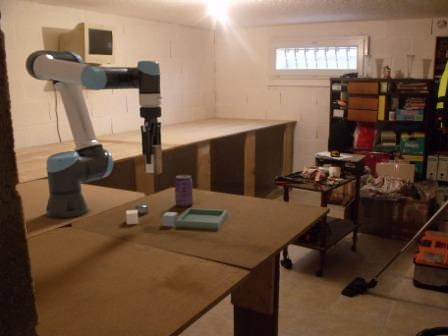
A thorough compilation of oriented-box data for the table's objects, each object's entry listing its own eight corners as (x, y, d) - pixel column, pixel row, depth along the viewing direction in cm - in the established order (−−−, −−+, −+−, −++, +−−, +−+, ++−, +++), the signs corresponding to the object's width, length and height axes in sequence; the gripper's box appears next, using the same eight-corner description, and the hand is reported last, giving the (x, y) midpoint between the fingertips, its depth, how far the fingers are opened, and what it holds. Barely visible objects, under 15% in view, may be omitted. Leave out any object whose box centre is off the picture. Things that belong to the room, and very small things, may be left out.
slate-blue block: (163, 226, 152) (162, 215, 152) (167, 222, 156) (166, 211, 155) (174, 226, 152) (173, 215, 151) (177, 223, 155) (177, 212, 155)
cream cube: (126, 224, 155) (126, 213, 154) (126, 221, 159) (126, 210, 158) (138, 223, 156) (137, 213, 155) (138, 220, 159) (137, 209, 159)
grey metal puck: (133, 214, 166) (132, 207, 165) (138, 210, 171) (138, 203, 170) (145, 215, 165) (145, 207, 164) (150, 211, 170) (150, 204, 169)
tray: (176, 227, 151) (176, 220, 150) (189, 214, 165) (188, 208, 165) (218, 229, 148) (218, 223, 147) (227, 216, 162) (227, 210, 161)
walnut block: (144, 174, 155) (142, 146, 153) (149, 171, 160) (148, 144, 158) (157, 174, 154) (156, 147, 152) (162, 171, 159) (161, 144, 157)
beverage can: (184, 201, 182) (183, 173, 180) (196, 204, 178) (195, 176, 175) (172, 205, 177) (170, 176, 174) (184, 208, 172) (183, 179, 170)
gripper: (150, 108, 143) (153, 176, 147) (169, 104, 160) (171, 166, 165) (129, 107, 144) (133, 176, 149) (150, 104, 161) (152, 165, 166)
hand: (153, 170), depth 157 cm, fingers closed on walnut block, 5 cm apart
